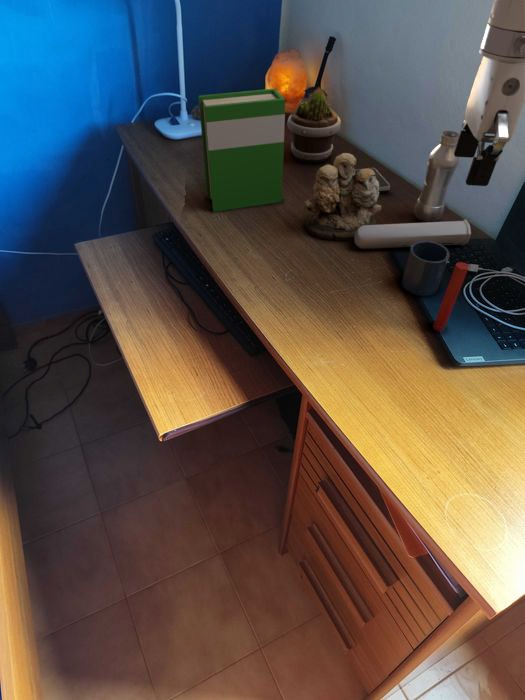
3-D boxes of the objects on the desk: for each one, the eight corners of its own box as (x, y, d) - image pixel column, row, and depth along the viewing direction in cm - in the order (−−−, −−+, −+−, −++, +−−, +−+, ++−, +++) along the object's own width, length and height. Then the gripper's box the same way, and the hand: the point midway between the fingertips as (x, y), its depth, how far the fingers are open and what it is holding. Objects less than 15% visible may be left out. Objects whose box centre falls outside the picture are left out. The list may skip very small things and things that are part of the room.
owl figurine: (308, 245, 104) (315, 171, 92) (296, 218, 112) (300, 147, 100) (384, 237, 107) (400, 164, 94) (366, 211, 115) (379, 140, 102)
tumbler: (443, 282, 95) (455, 249, 89) (429, 300, 91) (440, 267, 85) (410, 269, 98) (419, 236, 92) (395, 286, 94) (404, 253, 88)
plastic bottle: (422, 208, 116) (446, 125, 101) (445, 220, 112) (473, 135, 97) (406, 217, 113) (428, 132, 98) (429, 229, 109) (455, 143, 95)
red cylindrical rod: (445, 327, 86) (470, 264, 76) (441, 333, 85) (466, 270, 75) (435, 322, 87) (458, 260, 77) (431, 328, 86) (454, 266, 76)
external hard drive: (373, 174, 128) (374, 167, 127) (389, 193, 121) (391, 186, 119) (349, 177, 127) (350, 170, 126) (364, 196, 120) (365, 189, 118)
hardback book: (213, 211, 114) (205, 107, 97) (207, 197, 119) (198, 95, 102) (281, 201, 118) (285, 99, 100) (272, 188, 123) (275, 88, 105)
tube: (358, 239, 99) (473, 234, 100) (354, 220, 101) (466, 215, 102) (353, 255, 104) (463, 249, 105) (350, 235, 106) (457, 231, 107)
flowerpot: (285, 145, 141) (288, 71, 127) (335, 146, 141) (344, 72, 127) (284, 166, 131) (288, 89, 117) (339, 167, 131) (349, 90, 117)
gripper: (565, 62, 54) (508, 198, 67) (524, 27, 66) (482, 148, 78) (499, 60, 55) (454, 195, 67) (470, 25, 67) (436, 145, 79)
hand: (469, 169), depth 73 cm, fingers open, 9 cm apart
